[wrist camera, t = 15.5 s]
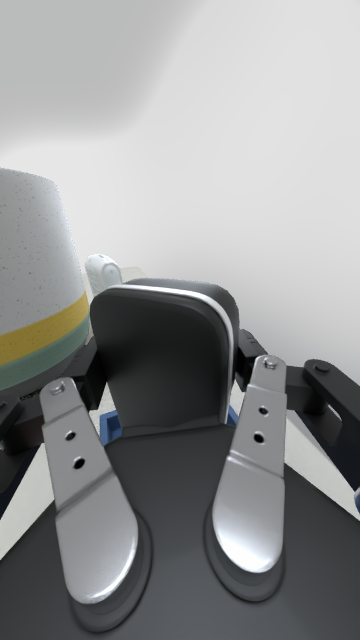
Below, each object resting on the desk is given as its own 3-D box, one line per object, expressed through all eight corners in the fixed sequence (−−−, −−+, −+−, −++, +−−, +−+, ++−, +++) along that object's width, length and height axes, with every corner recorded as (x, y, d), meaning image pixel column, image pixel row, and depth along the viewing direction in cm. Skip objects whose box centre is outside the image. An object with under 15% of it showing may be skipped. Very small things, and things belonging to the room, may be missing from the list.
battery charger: (233, 437, 14) (251, 276, 9) (218, 498, 11) (231, 306, 6) (151, 404, 17) (130, 269, 12) (121, 445, 14) (75, 286, 9)
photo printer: (132, 317, 40) (120, 254, 35) (112, 324, 38) (95, 259, 32) (112, 304, 48) (99, 250, 42) (94, 309, 45) (78, 253, 40)
